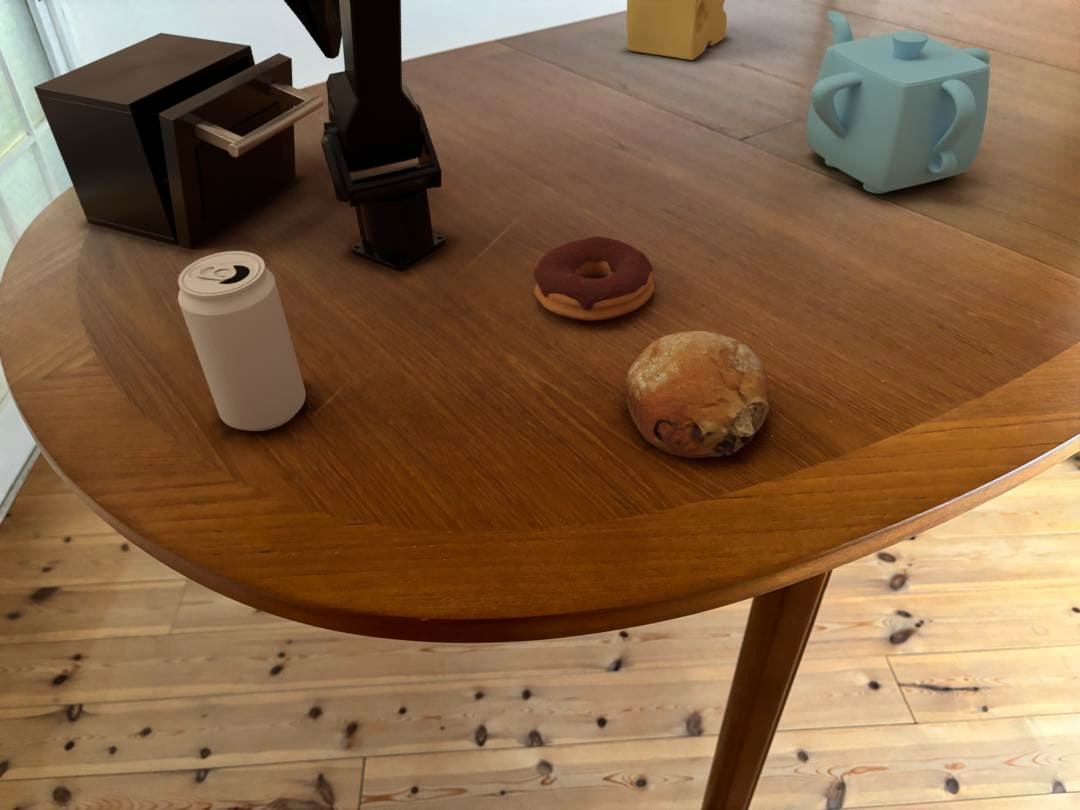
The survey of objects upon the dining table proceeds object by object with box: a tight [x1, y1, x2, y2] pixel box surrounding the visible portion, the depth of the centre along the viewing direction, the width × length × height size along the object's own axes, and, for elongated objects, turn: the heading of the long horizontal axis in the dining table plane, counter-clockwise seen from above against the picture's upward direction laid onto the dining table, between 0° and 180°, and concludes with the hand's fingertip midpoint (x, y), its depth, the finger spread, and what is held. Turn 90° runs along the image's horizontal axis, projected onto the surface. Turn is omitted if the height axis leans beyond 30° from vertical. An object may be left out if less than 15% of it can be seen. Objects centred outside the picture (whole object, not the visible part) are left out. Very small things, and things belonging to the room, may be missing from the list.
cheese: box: [626, 0, 728, 61], centre depth 122 cm, size 10×11×10 cm
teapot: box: [805, 10, 991, 194], centre depth 90 cm, size 18×16×14 cm
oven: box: [33, 32, 256, 246], centre depth 91 cm, size 12×16×14 cm
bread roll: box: [625, 330, 770, 459], centre depth 64 cm, size 10×10×8 cm
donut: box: [533, 235, 655, 322], centre depth 77 cm, size 10×10×4 cm
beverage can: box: [177, 250, 307, 432], centre depth 64 cm, size 6×6×12 cm
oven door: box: [159, 52, 324, 250], centre depth 88 cm, size 7×16×14 cm, turn 153°
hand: (332, 57), depth 89 cm, fingers closed
